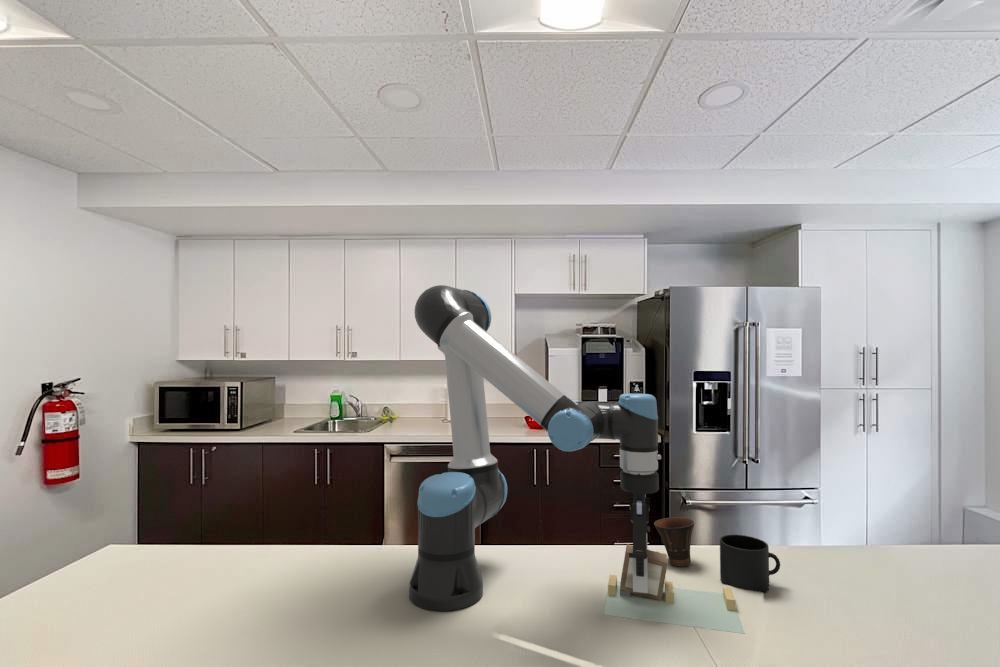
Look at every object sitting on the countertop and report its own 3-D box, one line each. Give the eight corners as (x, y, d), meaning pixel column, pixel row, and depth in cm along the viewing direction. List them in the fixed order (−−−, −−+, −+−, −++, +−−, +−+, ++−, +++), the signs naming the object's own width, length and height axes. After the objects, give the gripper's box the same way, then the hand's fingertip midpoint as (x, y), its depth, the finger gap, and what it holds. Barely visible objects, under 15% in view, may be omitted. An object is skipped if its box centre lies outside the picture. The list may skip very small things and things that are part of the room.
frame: (619, 589, 103) (625, 552, 103) (620, 579, 107) (626, 544, 107) (661, 601, 101) (667, 563, 101) (660, 590, 105) (666, 554, 105)
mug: (790, 597, 104) (789, 552, 105) (728, 594, 106) (727, 549, 106) (771, 577, 114) (770, 535, 114) (714, 574, 115) (714, 533, 116)
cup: (651, 554, 127) (651, 513, 127) (690, 556, 125) (689, 514, 126) (657, 569, 118) (657, 525, 118) (698, 571, 117) (698, 527, 117)
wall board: (603, 620, 96) (603, 603, 96) (609, 585, 110) (609, 570, 110) (745, 639, 89) (744, 621, 89) (731, 599, 103) (731, 584, 104)
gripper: (660, 486, 92) (662, 608, 91) (657, 459, 116) (658, 555, 115) (616, 484, 94) (618, 603, 93) (622, 457, 118) (624, 551, 117)
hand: (640, 576), depth 104 cm, fingers open, 13 cm apart
